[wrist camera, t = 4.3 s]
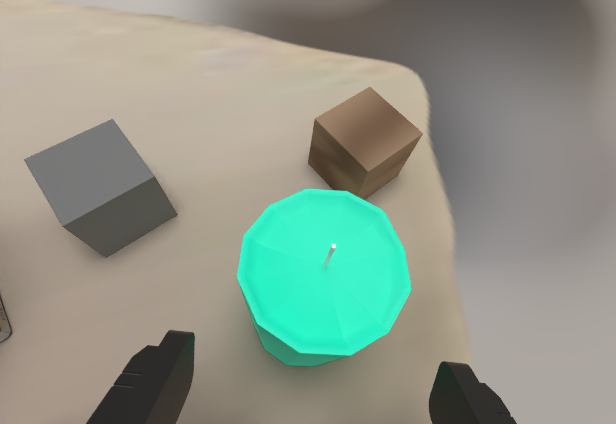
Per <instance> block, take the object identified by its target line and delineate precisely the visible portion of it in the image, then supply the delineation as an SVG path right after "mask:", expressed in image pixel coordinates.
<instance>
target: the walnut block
mask: <svg viewBox="0 0 616 424" xmlns="http://www.w3.org/2000/svg"><path fill="white" fill-rule="evenodd" d="M422 134H423V133H422V132H421V131H420V130H418V129H417V128H416V127H415V126H414V125H413V124H412V123H410V122H409V121H408V120H407V119H406V118H405V117H404V116H403V115H401V114H400V113H399V112H398V111H397V110H396V109H395V108H393V107H392V106H391V105H390V104H389V103H388V102H387V101H386V100H384V99H383V98H382V97H381V96H380V95H379V94H378V93H376V92H375V91H374V90H373V89H372V88H371V87H369V88H367V89H365V90H363V91H362V92H360V93H358V94H357V95H355V96H353V97H351V98H350V99H348V100H346V101H345V102H343V103H341V104H339V105H338V106H336V107H334V108H332V109H331V110H329V111H327V112H326V113H324V114H322V115H320V116H319V117H317V118H315V121H314V128H313V134H312V141H311V147H310V153H309V160H308V163H309V164H310V165H311V167H312V168H313V169H314V170H315V171H316V172H317V173H318V174H319V175H320V176H321V177H322V178H323V179H324V180H325V181H326V182H327V184H328V185H329V186H330V187H331V188H332V189H333V190H337V191H348V192H350V193H352V194H353V195H355V196H357V197H359V198H361V199H363V200H365V199H366V198H367V197H369V196H370V195H371V194H373V193H374V192H375V191H377V190H378V189H379V188H381V187H382V186H384V185H385V184H386V183H388V182H389V181H390V180H392V179H393V178H394V177H396V176H397V175H398V174H399V172H400V171H401V169H402V167H403V166H404V164H405V162H406V161H407V159H408V157H409V156H410V154H411V152H412V151H413V149H414V148H415V146H416V144H417V143H418V141H419V139H420V138H421V136H422Z"/></svg>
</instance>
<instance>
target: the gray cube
mask: <svg viewBox="0 0 616 424" xmlns="http://www.w3.org/2000/svg"><path fill="white" fill-rule="evenodd" d="M24 161H25V163H26V164H27V166H28V168H29V169H30V171H31V173H32V175H33V176H34V178H35V180H36V182H37V183H38V185H39V187H40V188H41V190H42V192H43V194H44V195H45V197H46V199H47V200H48V202H49V204H50V206H51V207H52V209H53V211H54V213H55V214H56V216H57V218H58V219H59V221H60V223H61V225H62V226H63V227H64V228H66V229H67V230H68V231H70V232H71V233H73V234H74V235H75V236H77V237H78V238H79V239H81V240H82V241H84V242H85V243H86V244H88V245H89V246H91V247H92V248H93V249H95V250H96V251H98V252H99V253H100V254H102V255H103V256H105V257H108V256H110V255H111V254H113V253H115V252H116V251H118V250H120V249H121V248H123V247H125V246H126V245H128V244H130V243H131V242H133V241H135V240H136V239H138V238H140V237H141V236H143V235H145V234H146V233H148V232H150V231H151V230H153V229H155V228H156V227H158V226H160V225H161V224H163V223H165V222H166V221H168V220H170V219H171V218H173V217H175V216H176V215H177V213H176V211H175V210H174V208H173V206H172V205H171V203H170V201H169V200H168V198H167V196H166V194H165V193H164V191H163V189H162V188H161V186H160V184H159V183H158V181H157V179H156V178H155V176H154V175H153V173H152V172H151V170H150V169H149V168H148V166H147V165H146V164H145V162H144V161H143V160H142V158H141V157H140V155H139V154H138V153H137V151H136V150H135V149H134V147H133V146H132V145H131V143H130V142H129V141H128V139H127V138H126V136H125V135H124V134H123V132H122V131H121V130H120V128H119V127H118V126H117V124H116V123H115V121H114V120H113V119H111V120H109V121H107V122H105V123H102V124H100V125H98V126H96V127H94V128H92V129H89V130H87V131H85V132H83V133H81V134H78V135H76V136H74V137H72V138H70V139H68V140H65V141H63V142H61V143H59V144H57V145H55V146H52V147H50V148H48V149H46V150H44V151H41V152H39V153H37V154H35V155H33V156H31V157H28V158H26V159H24Z"/></svg>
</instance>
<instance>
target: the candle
mask: <svg viewBox="0 0 616 424" xmlns="http://www.w3.org/2000/svg"><path fill="white" fill-rule="evenodd" d="M237 279H238V282H239V285H240V287H241V290H242V293H243V296H244V299H245V301H246V304H247V307H248V310H249V312H250V315H251V318H252V321H253V324H254V326H255V328H256V331H257V333H258V335H259V338H260V340H261V342H262V344H263V347H264V349H265V350H266V351H267V352H269V353H270V354H272V355H273V356H274V357H276V358H277V359H279V360H280V361H282V362H283V363H284V364H286V365H292V366H317V365H320V364H324V363H327V362H330V361H334V360H337V359H341V358H344V357H348V356H351V355H352V354H354V353H356V352H357V351H359V350H361V349H362V348H364V347H365V346H367V345H369V344H370V343H372V342H374V341H375V340H377V339H378V338H380V337H382V336H383V335H385V334H387V333H388V332H389V331H390V329H391V327H392V325H393V323H394V322H395V320H396V318H397V316H398V314H399V312H400V310H401V309H402V307H403V305H404V303H405V301H406V299H407V297H408V296H409V294H410V292H411V284H410V278H409V272H408V266H407V261H406V255H405V249H404V247H403V245H402V243H401V242H400V240H399V238H398V236H397V234H396V232H395V230H394V229H393V227H392V225H391V223H390V221H389V219H388V217H387V216H386V214H385V212H384V210H382V209H380V208H378V207H376V206H374V205H372V204H370V203H368V202H367V201H365V200H363V199H361V198H359V197H357V196H355V195H353V194H352V193H350V192H348V191H337V190H322V189H305V190H302V191H300V192H298V193H296V194H294V195H291V196H289V197H287V198H285V199H283V200H281V201H278V202H276V203H274V204H272V205H270V206H269V207H268V208H267V209H266V210H265V211H264V213H263V214H262V215H261V216H260V217H259V219H258V220H257V221H256V222H255V223H254V224H253V226H252V227H251V228H250V229H249V230H248V231H247V233H246V234H245V235H244V237H243V243H242V250H241V256H240V262H239V269H238V275H237Z"/></svg>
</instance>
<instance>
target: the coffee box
mask: <svg viewBox="0 0 616 424" xmlns="http://www.w3.org/2000/svg"><path fill="white" fill-rule="evenodd" d="M10 332H11V330H10V327H9V324H8V320H7V317H6V315H5V312H4V309H3V306H2V303H1V300H0V342H1V341H3V340H4V339H6V338H7V337H8V336H9V335H10Z"/></svg>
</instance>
